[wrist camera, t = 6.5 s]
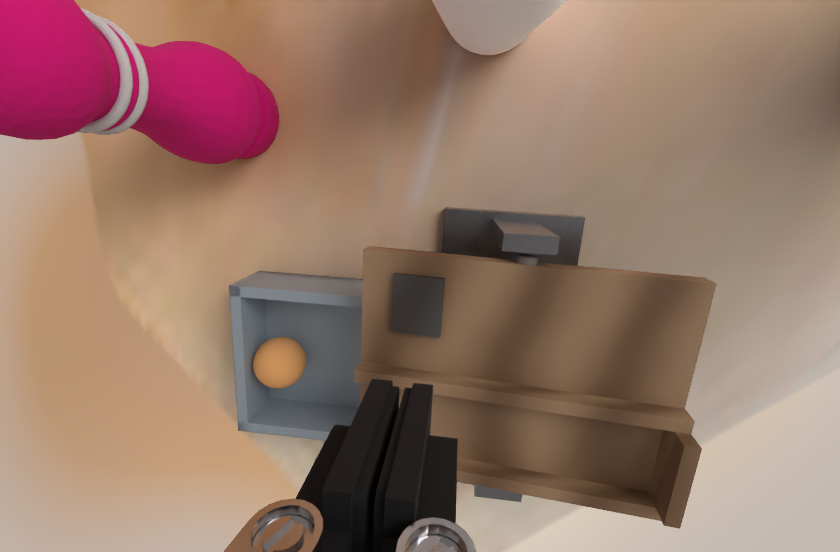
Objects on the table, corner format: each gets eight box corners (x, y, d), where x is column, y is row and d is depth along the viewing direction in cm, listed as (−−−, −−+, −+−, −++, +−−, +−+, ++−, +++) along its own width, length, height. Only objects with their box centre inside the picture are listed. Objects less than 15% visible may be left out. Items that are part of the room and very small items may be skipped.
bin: (415, 283, 32) (408, 300, 28) (407, 415, 35) (400, 449, 31) (259, 271, 33) (229, 285, 29) (265, 399, 36) (238, 430, 32)
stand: (580, 216, 29) (628, 232, 21) (546, 432, 34) (574, 514, 26) (445, 207, 30) (440, 219, 22) (430, 419, 35) (421, 495, 27)
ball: (302, 327, 34) (309, 346, 30) (302, 370, 35) (310, 393, 31) (250, 332, 32) (252, 353, 29) (253, 377, 33) (255, 402, 30)
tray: (706, 270, 21) (745, 288, 18) (651, 497, 25) (674, 547, 22) (369, 240, 25) (348, 250, 21) (364, 444, 28) (345, 481, 25)
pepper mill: (180, 77, 30) (-334, -104, 10) (269, 51, 29) (-120, -203, 9) (212, 174, 31) (-183, 173, 12) (297, 153, 30) (14, 114, 11)
